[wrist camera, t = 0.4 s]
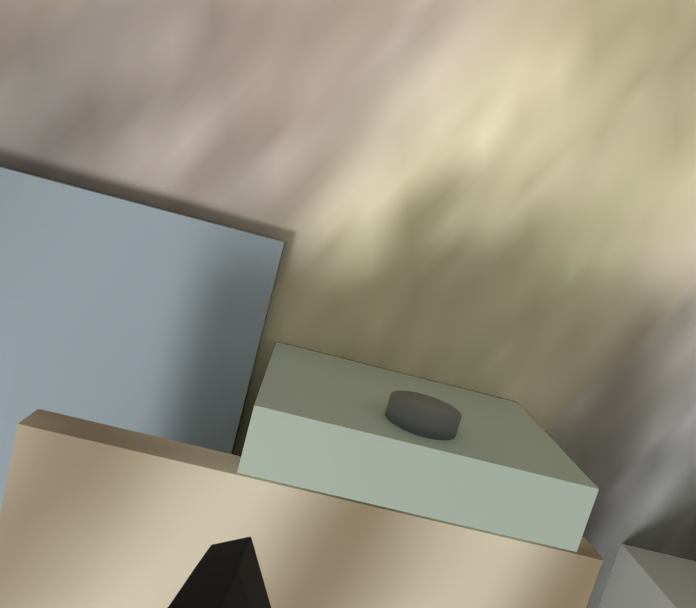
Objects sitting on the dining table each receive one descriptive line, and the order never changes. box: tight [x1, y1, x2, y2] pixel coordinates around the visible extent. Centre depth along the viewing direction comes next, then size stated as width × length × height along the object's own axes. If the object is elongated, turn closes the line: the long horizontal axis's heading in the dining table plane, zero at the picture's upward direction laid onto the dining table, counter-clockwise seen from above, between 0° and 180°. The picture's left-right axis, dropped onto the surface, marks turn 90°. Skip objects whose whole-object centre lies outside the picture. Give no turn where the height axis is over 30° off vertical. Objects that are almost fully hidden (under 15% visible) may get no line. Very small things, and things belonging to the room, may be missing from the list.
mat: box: [0, 166, 285, 513], centre depth 20 cm, size 22×10×1 cm, turn 165°
